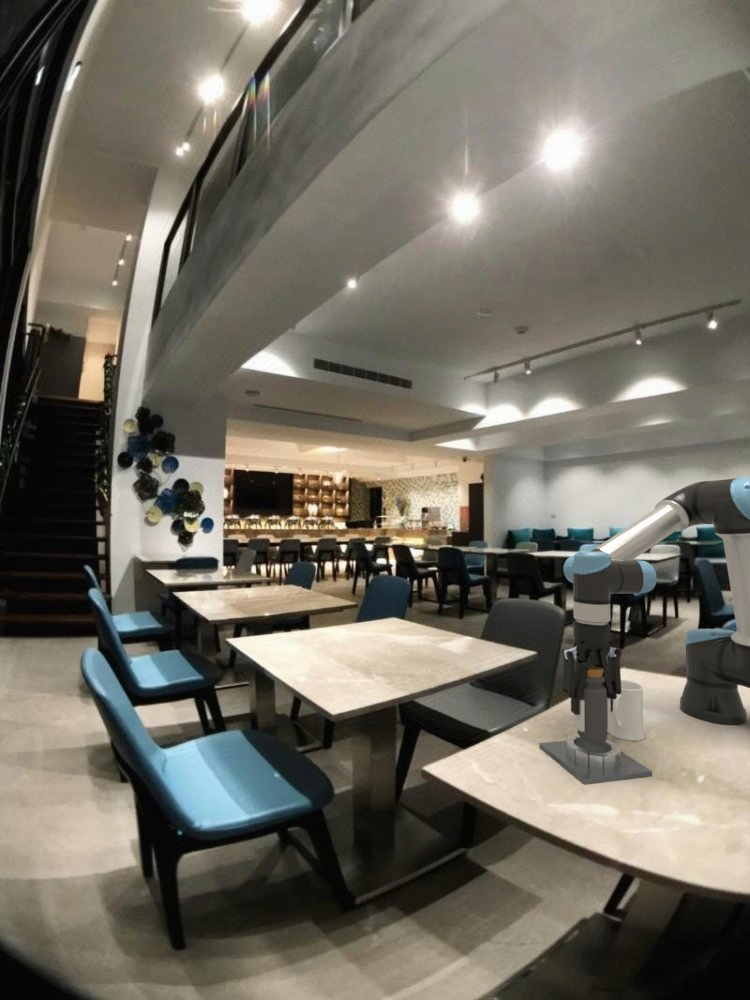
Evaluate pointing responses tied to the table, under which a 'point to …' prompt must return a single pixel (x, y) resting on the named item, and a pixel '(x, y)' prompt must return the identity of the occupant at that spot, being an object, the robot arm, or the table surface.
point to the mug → (628, 713)
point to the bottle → (595, 706)
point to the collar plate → (594, 772)
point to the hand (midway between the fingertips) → (592, 727)
